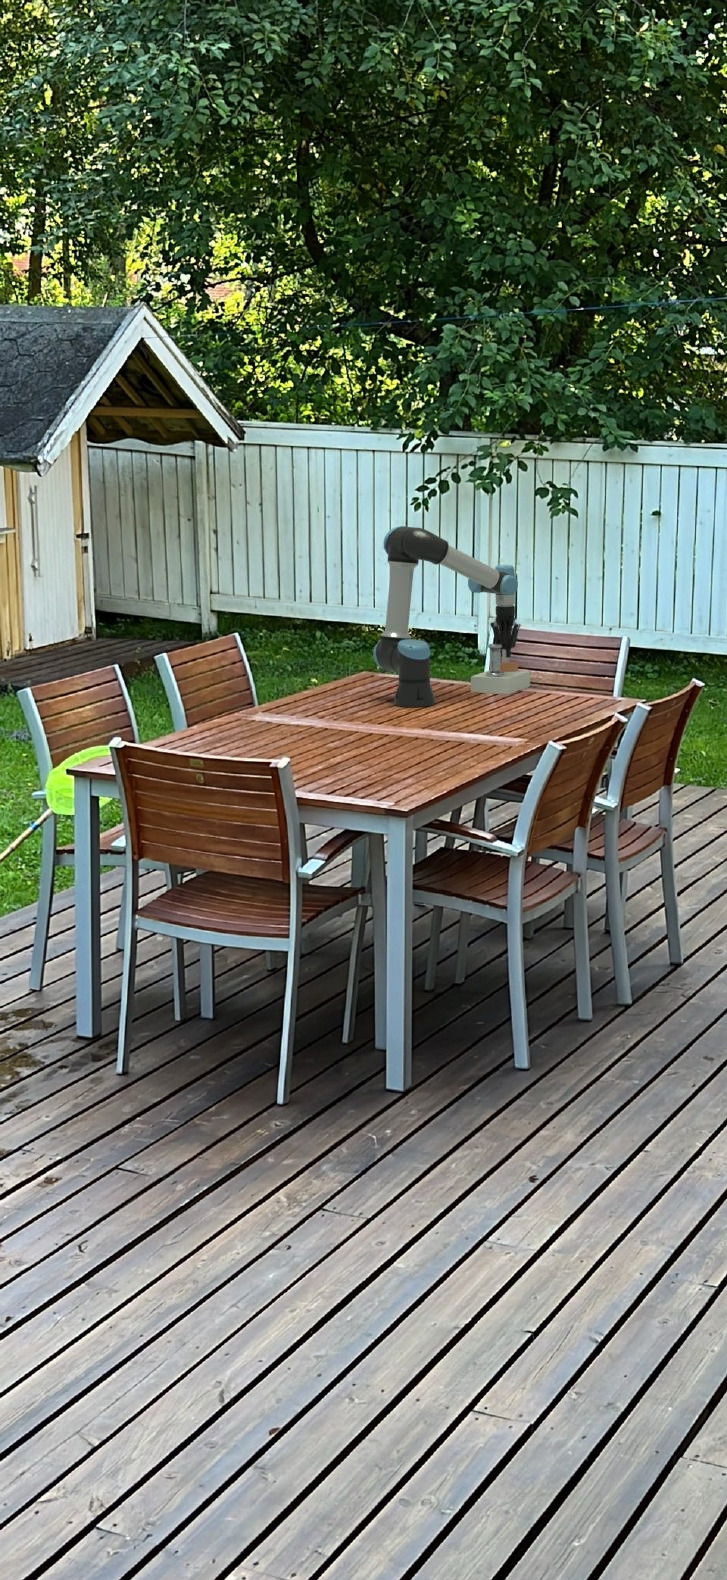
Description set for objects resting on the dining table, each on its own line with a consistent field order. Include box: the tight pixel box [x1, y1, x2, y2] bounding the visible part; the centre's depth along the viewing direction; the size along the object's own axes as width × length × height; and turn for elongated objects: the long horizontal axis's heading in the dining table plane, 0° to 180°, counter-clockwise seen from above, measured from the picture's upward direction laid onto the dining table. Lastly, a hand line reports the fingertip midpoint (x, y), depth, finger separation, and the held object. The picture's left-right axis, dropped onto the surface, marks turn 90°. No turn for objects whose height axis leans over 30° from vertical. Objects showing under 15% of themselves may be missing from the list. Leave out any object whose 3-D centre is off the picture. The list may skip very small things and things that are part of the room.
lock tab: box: [500, 661, 519, 671], centre depth 698 cm, size 11×4×3 cm, turn 108°
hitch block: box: [470, 669, 531, 695], centre depth 693 cm, size 16×20×6 cm
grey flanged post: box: [485, 643, 504, 677], centre depth 687 cm, size 7×7×15 cm
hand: (505, 665), depth 700 cm, fingers closed
